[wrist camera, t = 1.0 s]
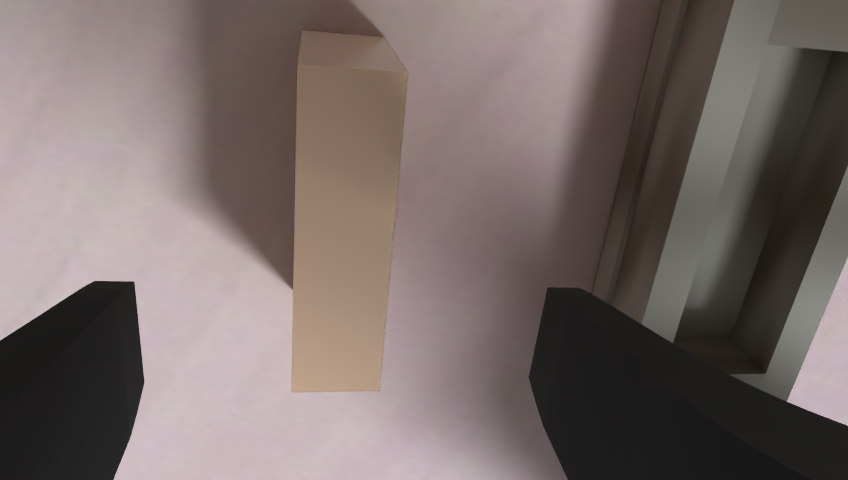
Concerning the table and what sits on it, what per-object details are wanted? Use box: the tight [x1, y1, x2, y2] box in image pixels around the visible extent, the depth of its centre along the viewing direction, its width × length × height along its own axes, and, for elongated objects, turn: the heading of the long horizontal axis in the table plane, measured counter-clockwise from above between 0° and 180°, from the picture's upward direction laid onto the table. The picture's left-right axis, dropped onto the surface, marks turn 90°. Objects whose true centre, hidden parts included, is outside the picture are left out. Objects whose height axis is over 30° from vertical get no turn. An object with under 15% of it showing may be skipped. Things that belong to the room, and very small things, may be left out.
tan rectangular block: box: [291, 30, 408, 392], centre depth 17 cm, size 8×2×5 cm, turn 174°
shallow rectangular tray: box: [592, 0, 848, 402], centre depth 20 cm, size 12×6×3 cm, turn 174°
